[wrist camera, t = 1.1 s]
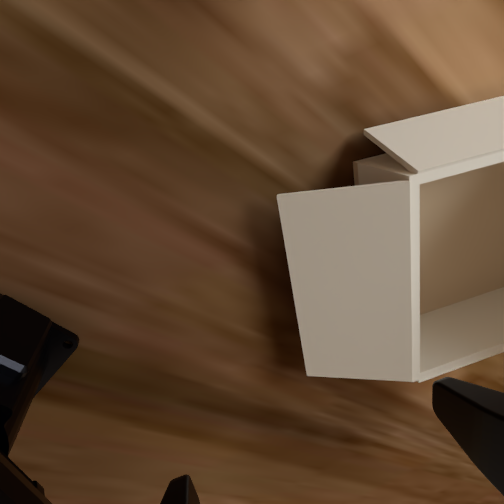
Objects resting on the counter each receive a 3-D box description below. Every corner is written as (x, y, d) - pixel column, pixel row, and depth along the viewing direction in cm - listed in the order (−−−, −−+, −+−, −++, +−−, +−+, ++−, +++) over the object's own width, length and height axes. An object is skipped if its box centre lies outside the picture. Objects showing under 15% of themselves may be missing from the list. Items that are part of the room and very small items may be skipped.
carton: (298, 376, 25) (331, 436, 20) (258, 152, 19) (291, 165, 14) (509, 304, 28) (580, 343, 23) (534, 86, 21) (639, 79, 17)
